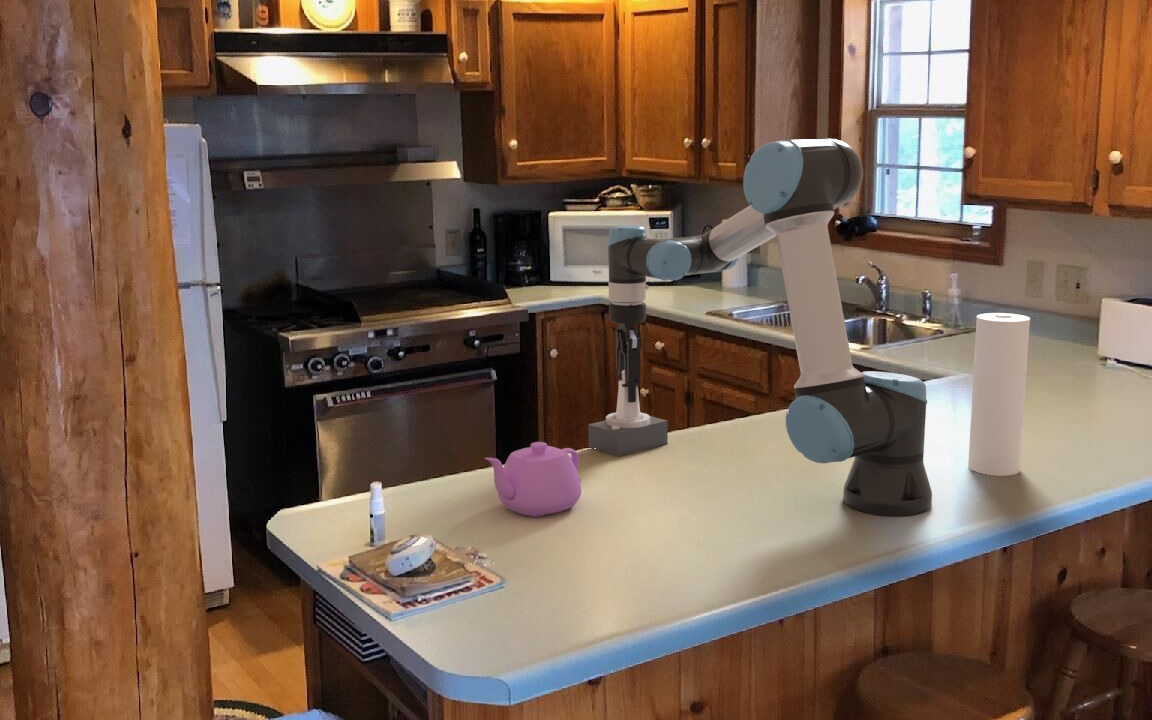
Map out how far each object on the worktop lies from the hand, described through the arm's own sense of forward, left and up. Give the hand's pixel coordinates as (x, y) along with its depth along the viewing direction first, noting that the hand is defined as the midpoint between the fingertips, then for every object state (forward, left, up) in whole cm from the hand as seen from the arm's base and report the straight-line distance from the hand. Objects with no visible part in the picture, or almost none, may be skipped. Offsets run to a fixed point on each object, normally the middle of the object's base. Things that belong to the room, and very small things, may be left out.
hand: (628, 413), depth 246 cm
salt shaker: (0, 0, -2) cm, 2 cm away
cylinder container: (+12, -71, -7) cm, 72 cm away
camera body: (0, 0, -7) cm, 7 cm away
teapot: (-43, 0, -7) cm, 44 cm away
